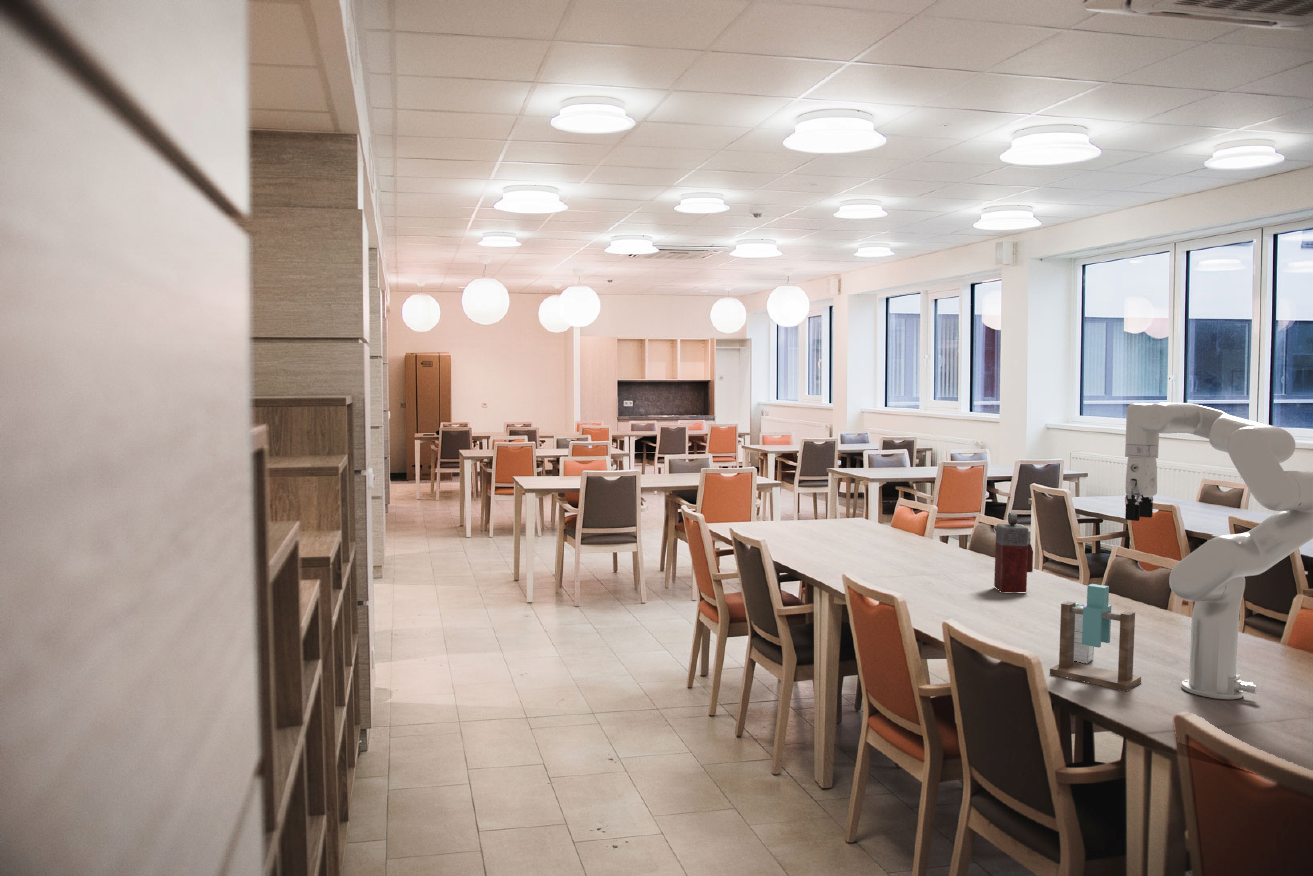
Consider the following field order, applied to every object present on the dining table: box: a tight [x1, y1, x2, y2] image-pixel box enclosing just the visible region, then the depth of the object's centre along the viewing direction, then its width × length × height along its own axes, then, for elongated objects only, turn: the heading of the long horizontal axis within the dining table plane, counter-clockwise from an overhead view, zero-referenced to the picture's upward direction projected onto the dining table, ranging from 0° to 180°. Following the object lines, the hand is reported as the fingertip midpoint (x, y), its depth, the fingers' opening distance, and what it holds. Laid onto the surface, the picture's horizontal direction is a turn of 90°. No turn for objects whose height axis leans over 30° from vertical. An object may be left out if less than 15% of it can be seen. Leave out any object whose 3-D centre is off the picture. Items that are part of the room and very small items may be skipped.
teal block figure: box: [1082, 583, 1112, 648], centre depth 230 cm, size 4×7×14 cm, turn 135°
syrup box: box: [1073, 602, 1095, 665], centre depth 247 cm, size 6×6×14 cm
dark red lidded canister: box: [993, 512, 1034, 593], centre depth 335 cm, size 9×11×28 cm
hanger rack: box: [1049, 601, 1142, 692], centre depth 231 cm, size 18×10×18 cm, turn 45°
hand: (1138, 518), depth 240 cm, fingers open, 9 cm apart
